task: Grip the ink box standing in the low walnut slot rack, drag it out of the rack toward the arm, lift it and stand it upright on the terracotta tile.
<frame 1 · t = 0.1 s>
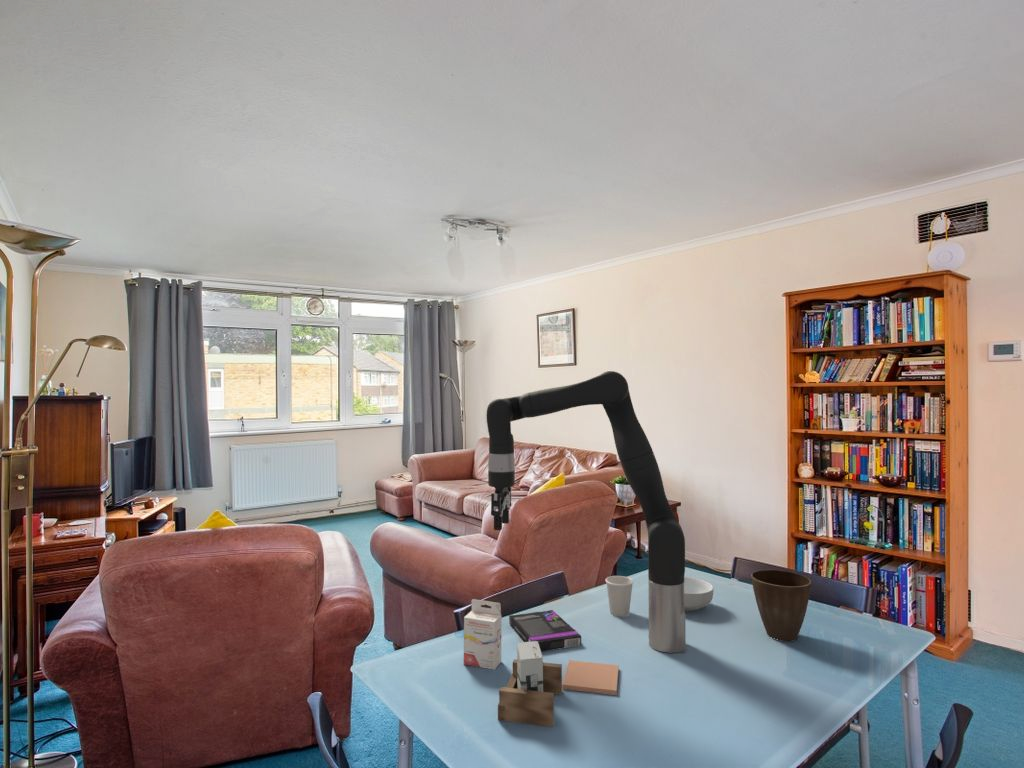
hand: (501, 526, 160), 29 cm above the table, tool pointing down, fingers open, 8 cm apart
terracotta tile: (591, 678, 132), on the table
box: (543, 636, 157), on the table
dixie cup: (619, 613, 172), on the table
cereal bowl: (685, 607, 178), on the table
plant pot: (781, 636, 156), on the table
ink box: (529, 705, 121), on the table
ink cartridge box: (482, 664, 140), on the table
walnut slot rack: (529, 704, 121), on the table
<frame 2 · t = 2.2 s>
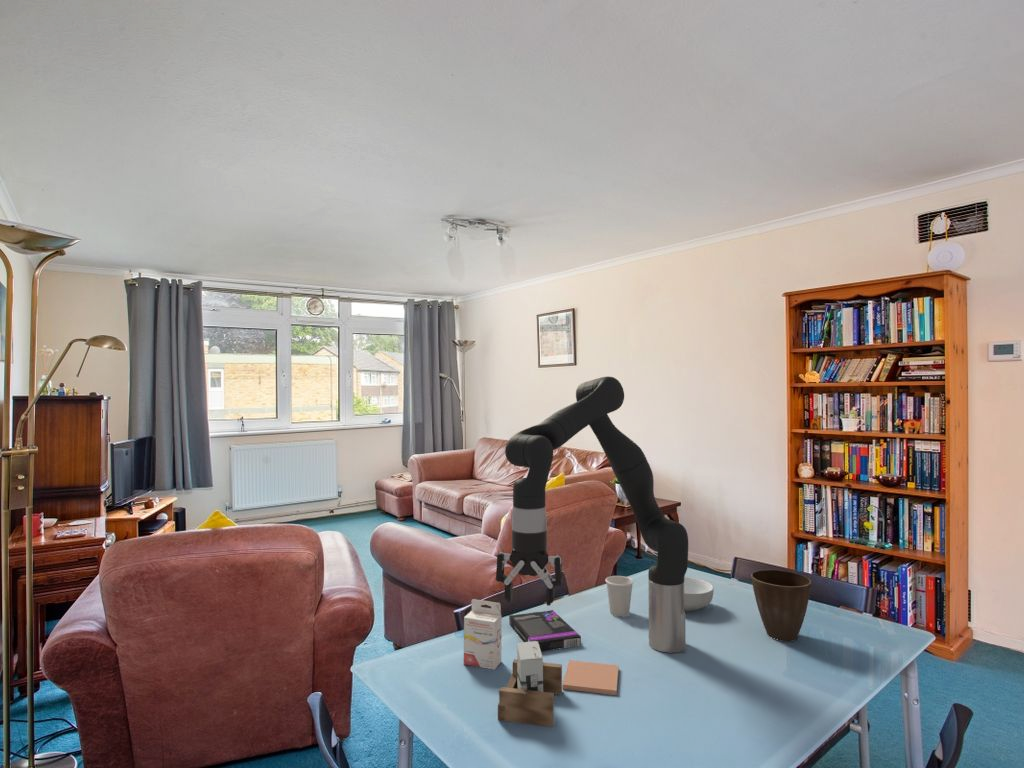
hand: (529, 602, 122), 22 cm above the table, tool pointing down, fingers open, 8 cm apart
nothing on the table moved.
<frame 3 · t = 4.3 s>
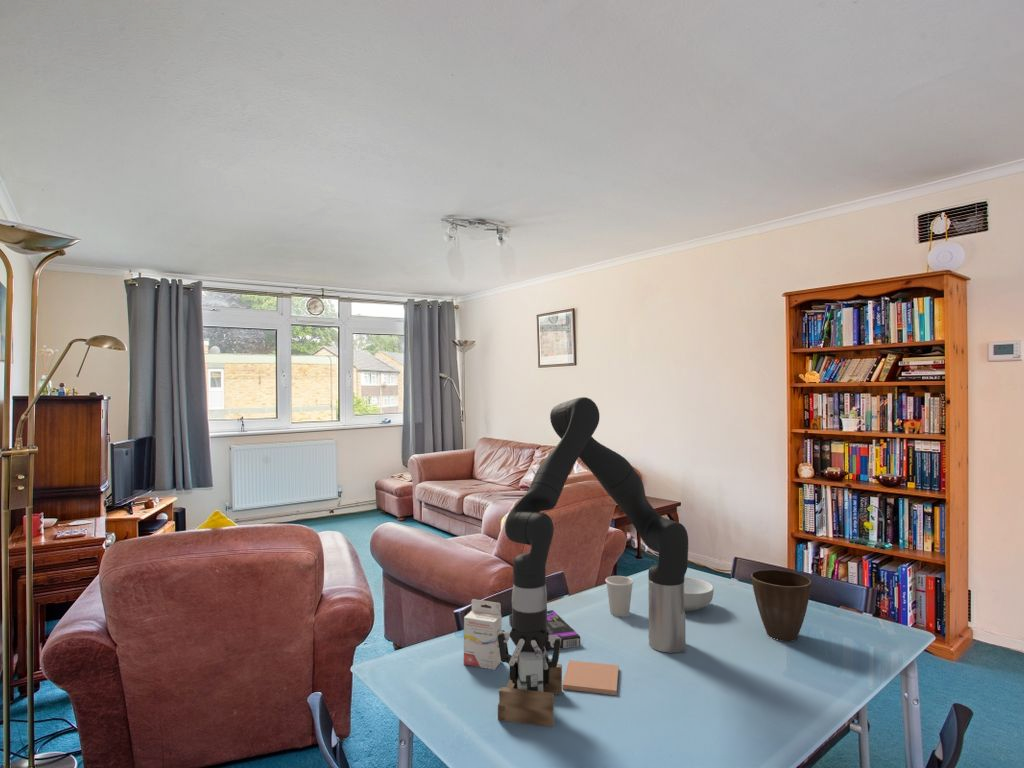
hand: (529, 683, 122), 5 cm above the table, tool pointing down, fingers closed on ink box, 6 cm apart
ink box: (529, 705, 121), on the table, touching gripper
everything else where it was.
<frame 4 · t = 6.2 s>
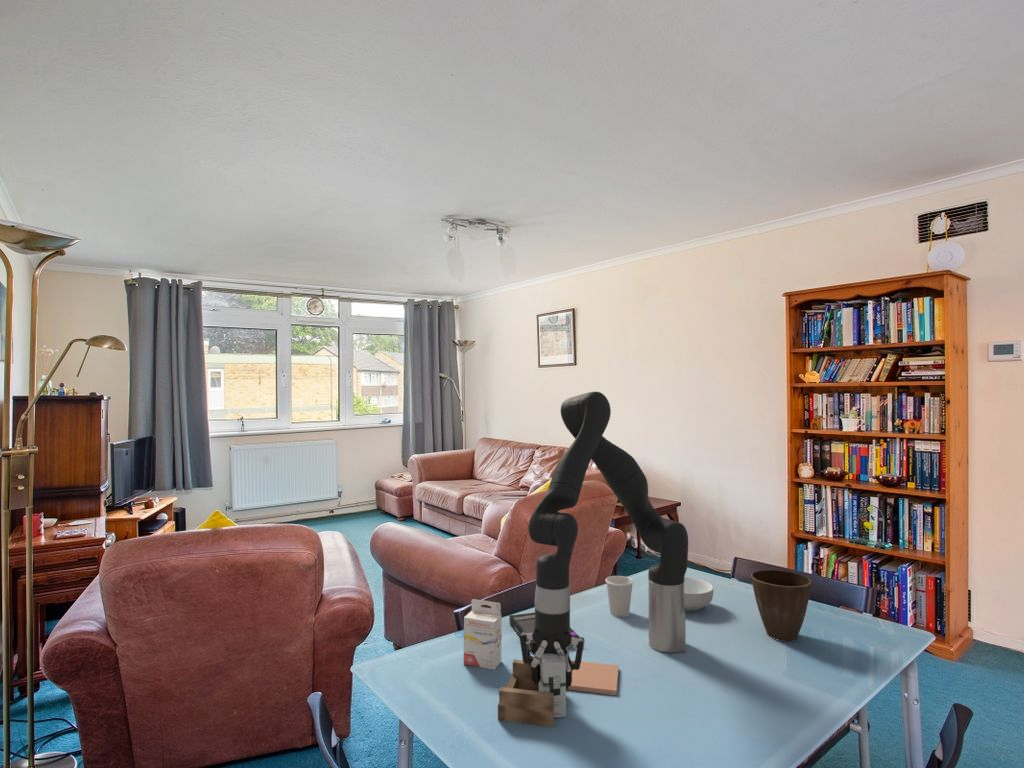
hand: (551, 684, 121), 5 cm above the table, tool pointing down, fingers closed on ink box, 6 cm apart
ink box: (551, 707, 120), on the table, touching gripper
everything else where it was.
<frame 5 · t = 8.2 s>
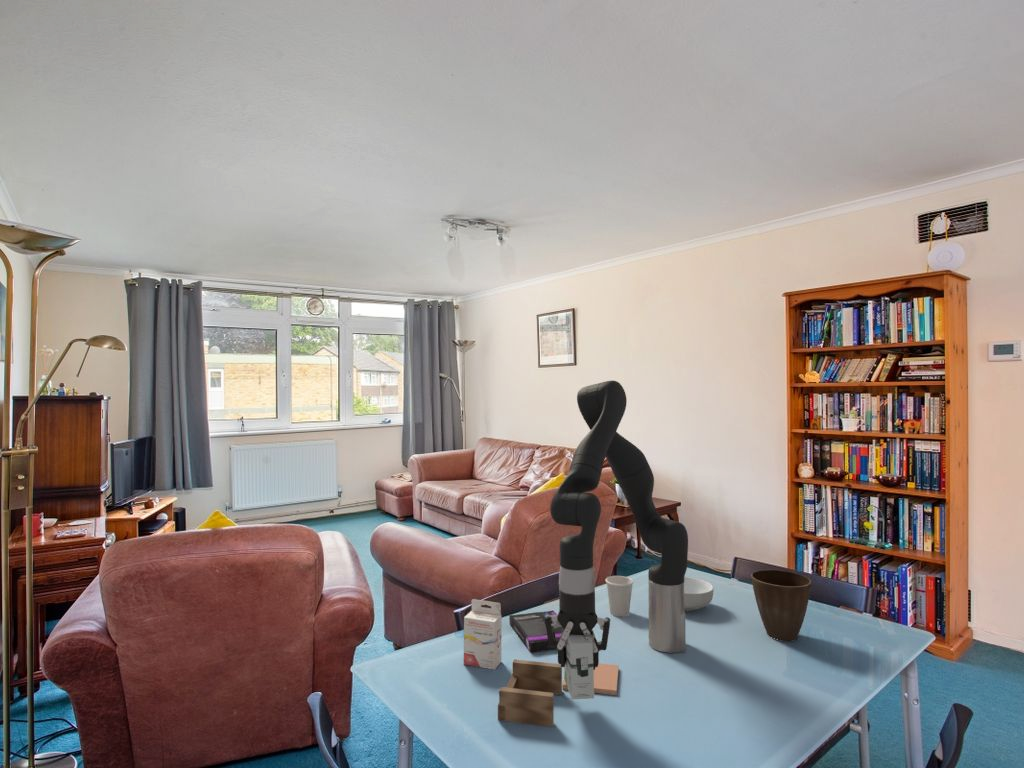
hand: (578, 666, 119), 9 cm above the table, tool pointing down, fingers closed on ink box, 5 cm apart
ink box: (578, 689, 119), point 4 cm above the table, touching gripper
everything else where it was.
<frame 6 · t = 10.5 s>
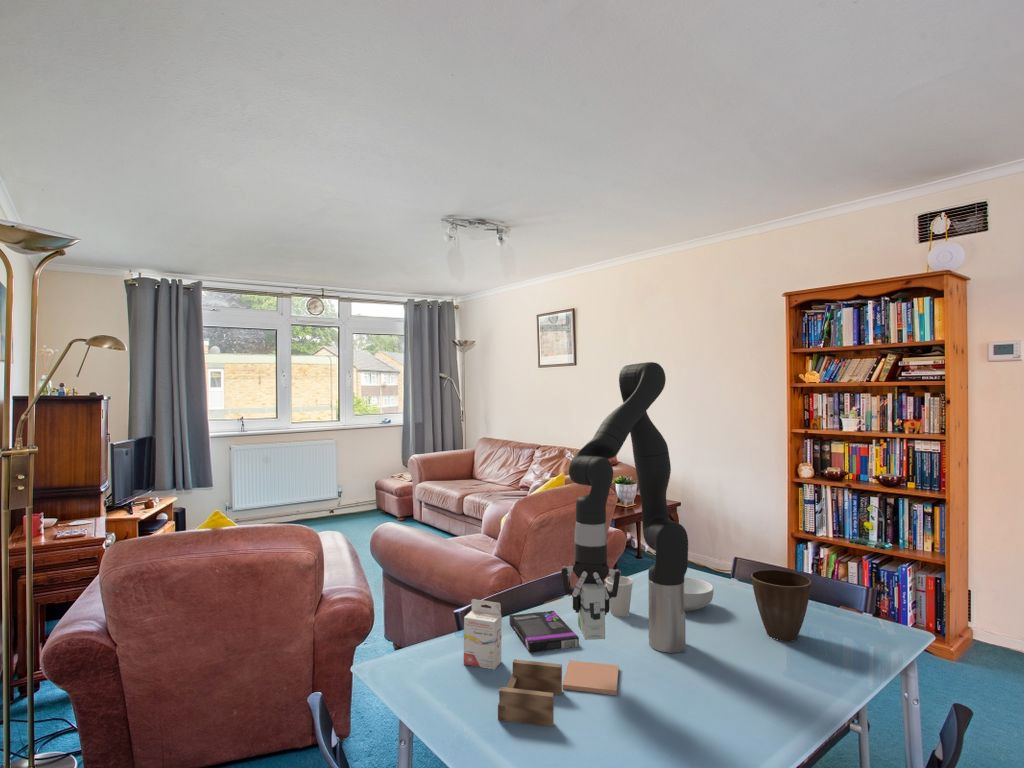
hand: (591, 612, 133), 15 cm above the table, tool pointing down, fingers closed on ink box, 5 cm apart
ink box: (591, 633, 133), point 11 cm above the table, touching gripper
everything else where it was.
when the fingers open (7 cm above the table, at t = 12.4 s): ink box drops 1 cm, resting on terracotta tile.
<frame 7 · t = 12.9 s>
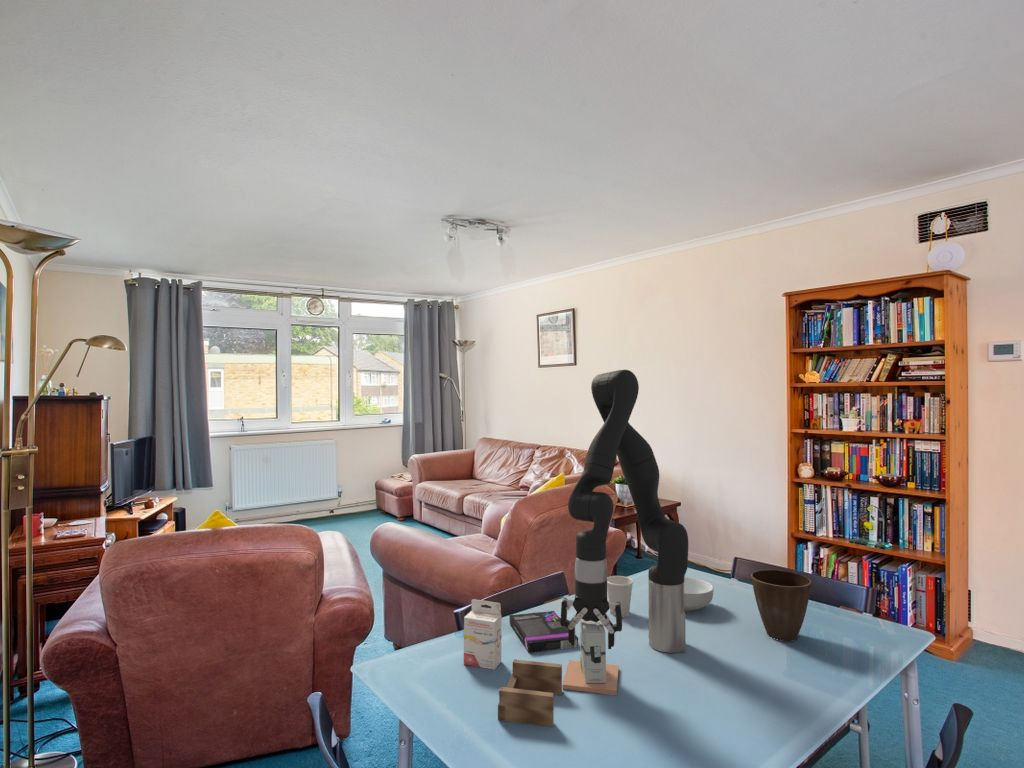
hand: (591, 646, 133), 8 cm above the table, tool pointing down, fingers open, 8 cm apart
ink box: (592, 675, 132), point 1 cm above the table, touching terracotta tile
everything else where it was.
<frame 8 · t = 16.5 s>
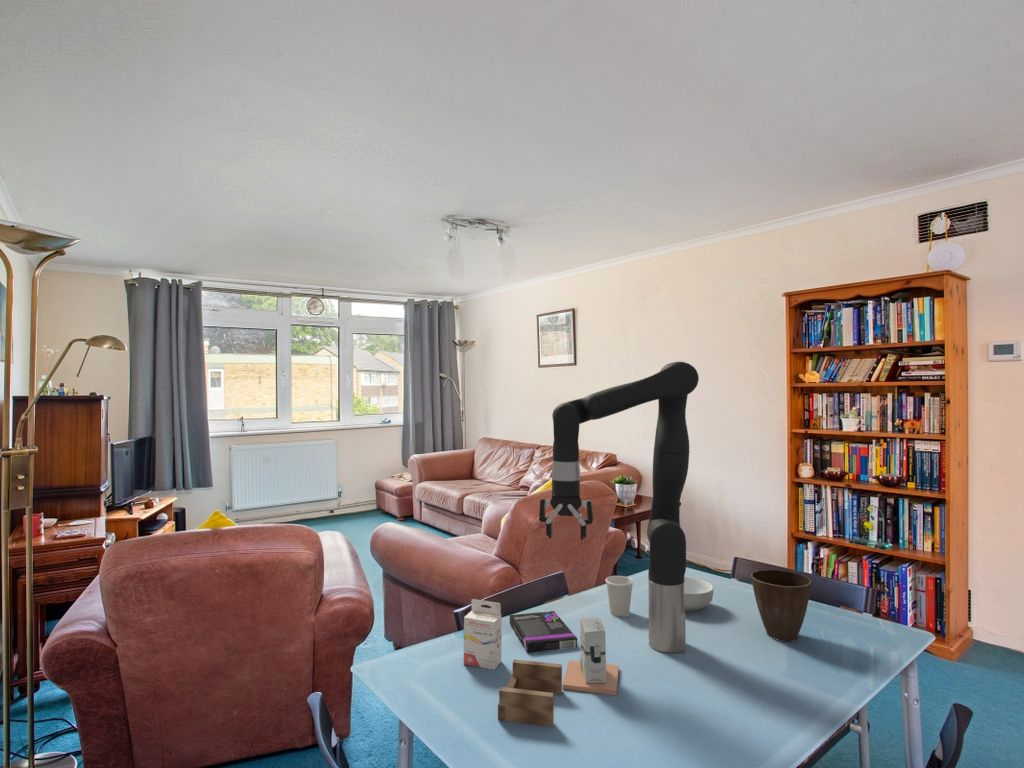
hand: (566, 538, 151), 28 cm above the table, tool pointing down, fingers open, 8 cm apart
nothing on the table moved.
at the end: ink box 0.3 cm off-centre on the terracotta tile, point 0.8 cm above the terracotta tile's base; ink box tilted 0°; the gripper is holding nothing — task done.
